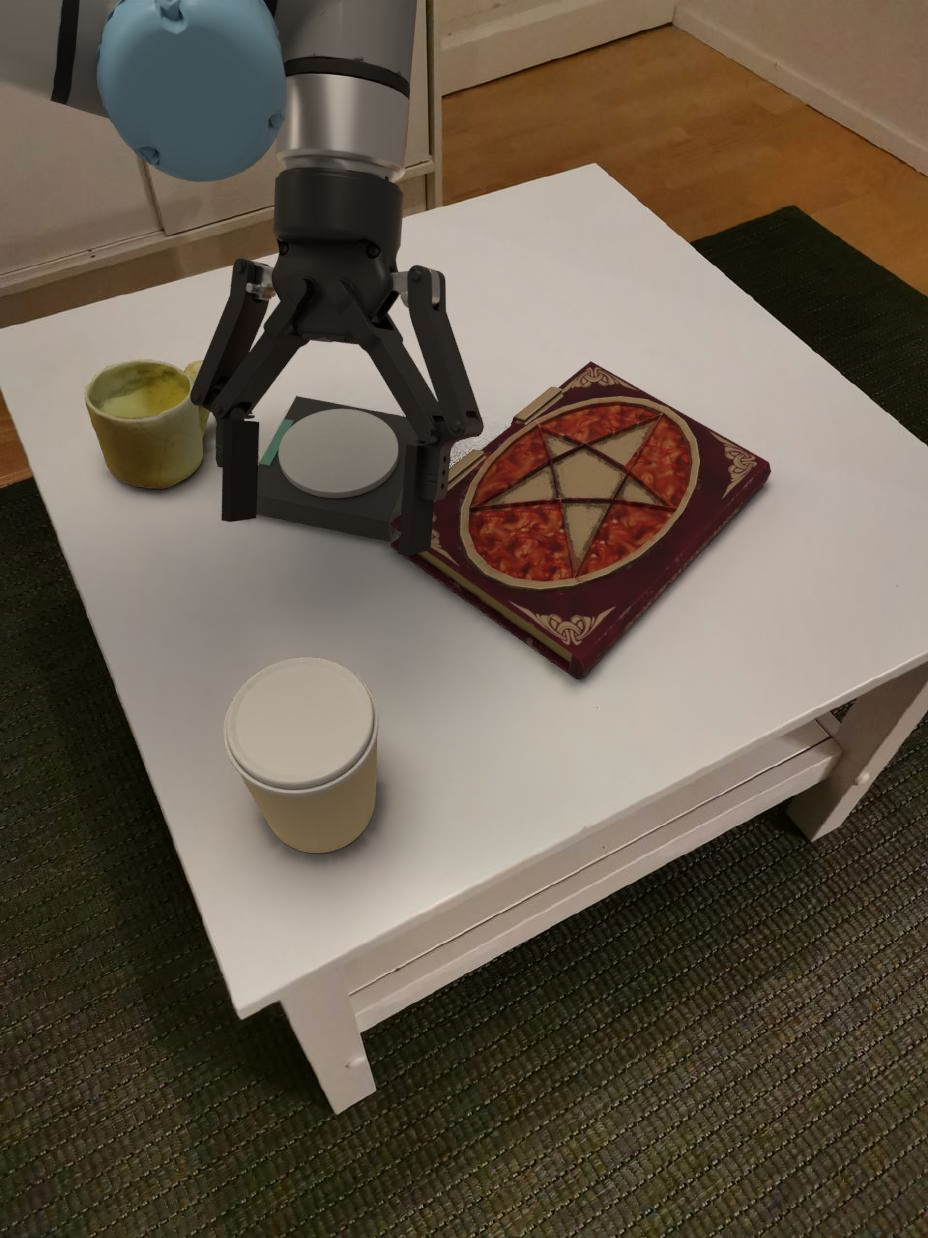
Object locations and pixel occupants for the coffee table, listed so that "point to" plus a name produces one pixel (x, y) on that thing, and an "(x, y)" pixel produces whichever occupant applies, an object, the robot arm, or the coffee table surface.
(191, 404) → the mug
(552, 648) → the book
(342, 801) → the coffee cup
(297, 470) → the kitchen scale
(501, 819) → the coffee table surface
